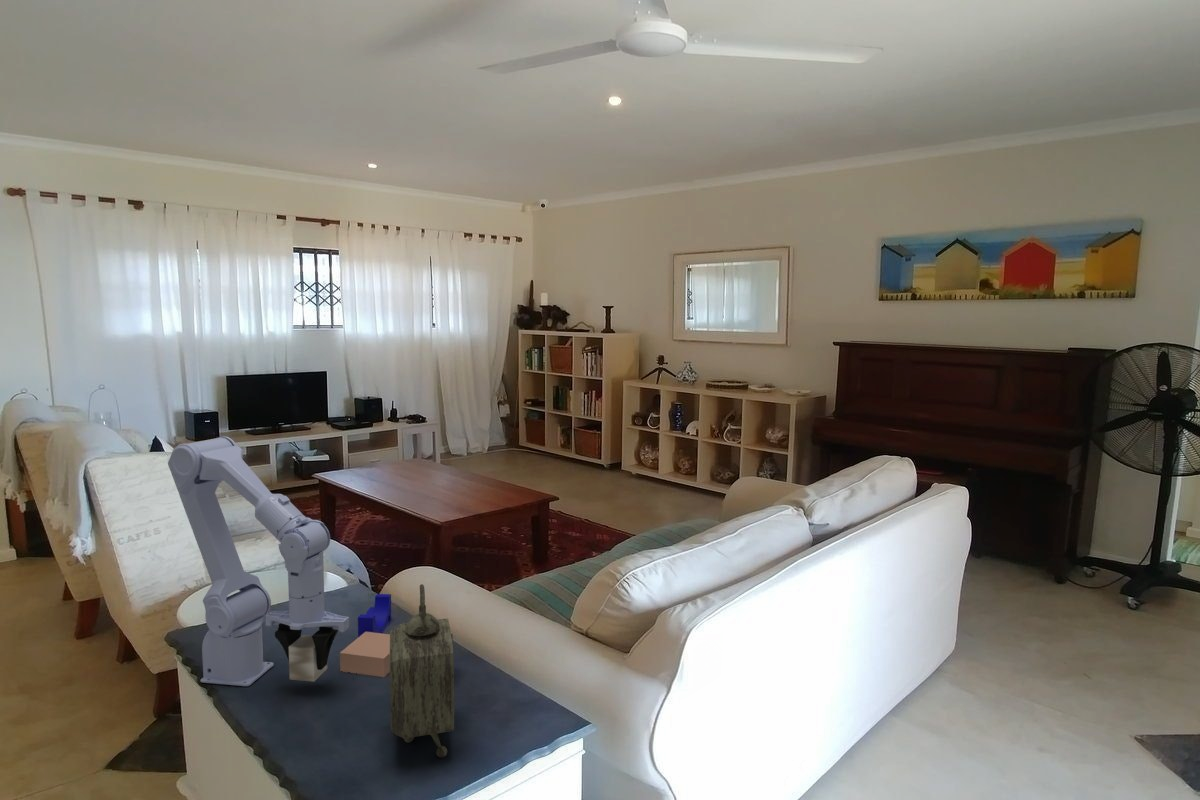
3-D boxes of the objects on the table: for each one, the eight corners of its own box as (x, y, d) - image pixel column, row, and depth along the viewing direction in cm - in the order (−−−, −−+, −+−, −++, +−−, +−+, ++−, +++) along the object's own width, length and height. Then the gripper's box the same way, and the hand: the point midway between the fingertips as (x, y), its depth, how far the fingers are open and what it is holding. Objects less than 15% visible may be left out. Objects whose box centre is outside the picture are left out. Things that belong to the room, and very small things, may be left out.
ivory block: (289, 679, 120) (288, 646, 119) (303, 666, 124) (302, 634, 124) (314, 681, 119) (313, 648, 119) (327, 668, 124) (326, 636, 123)
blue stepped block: (370, 620, 151) (370, 593, 150) (391, 620, 151) (390, 594, 150) (351, 645, 139) (350, 617, 138) (373, 646, 139) (372, 617, 138)
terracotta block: (340, 673, 129) (339, 652, 128) (366, 650, 137) (365, 631, 137) (384, 678, 127) (383, 658, 126) (407, 655, 136) (407, 636, 135)
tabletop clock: (454, 763, 103) (453, 603, 100) (391, 773, 100) (388, 609, 97) (447, 710, 116) (446, 568, 114) (391, 718, 114) (389, 573, 111)
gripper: (253, 598, 117) (256, 673, 118) (334, 604, 115) (336, 680, 117) (277, 582, 124) (280, 654, 125) (354, 588, 122) (355, 660, 124)
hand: (308, 665), depth 122 cm, fingers closed on ivory block, 4 cm apart
